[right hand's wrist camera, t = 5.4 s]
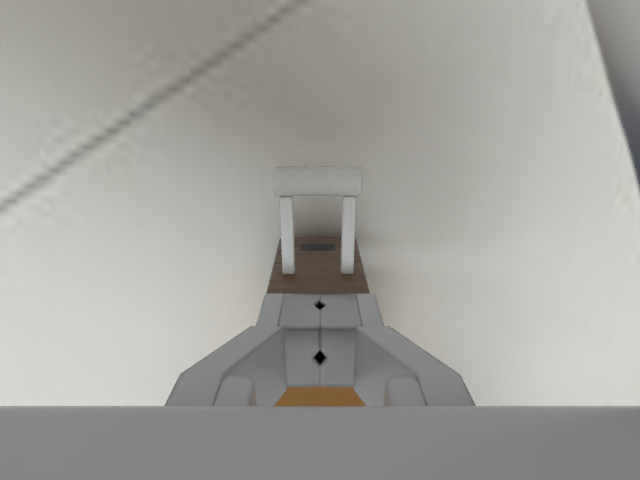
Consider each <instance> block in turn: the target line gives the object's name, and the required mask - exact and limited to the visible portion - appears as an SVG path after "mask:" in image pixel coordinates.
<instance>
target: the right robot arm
mask: <svg viewBox="0 0 640 480" xmlns="http://www.w3.org/2000/svg"><path fill="white" fill-rule="evenodd" d="M294 387H346V388H353V389H354V391H355V392H356V393H357V394H358V396H359V397H360V398H361V399H362V401H363V402H364V403H365V404H366V406H274V405H275V403H276V402H277V401H278V400H279V398H280V397H281V396H282V395H283V394H284V392H285V391H286V390H287V388H294ZM0 480H640V406H476V405H475V403H474V401H473V399H472V397H471V395H470V393H469V391H468V389H467V387H466V385H465V383H464V381H463V379H462V377H461V375H460V374H458V373H457V372H455V371H454V370H453V369H451V368H450V367H448V366H447V365H445V364H444V363H442V362H441V361H439V360H438V359H436V358H435V357H433V356H432V355H431V354H429V353H428V352H426V351H425V350H423V349H422V348H420V347H419V346H417V345H416V344H414V343H413V342H411V341H410V340H408V339H407V338H406V337H404V336H403V335H401V334H400V333H398V332H397V331H395V330H394V329H392V328H391V327H389V326H384V324H383V321H382V317H381V314H380V310H379V307H378V303H377V299H376V296H375V294H374V293H367V294H323V295H320V294H283V293H274V294H266V295H265V296H264V299H263V303H262V306H261V310H260V313H259V317H258V321H257V324H256V326H251V327H249V328H248V329H246V330H245V331H243V332H242V333H240V334H239V335H237V336H236V337H234V338H233V339H231V340H230V341H229V342H227V343H226V344H224V345H223V346H221V347H220V348H218V349H217V350H215V351H214V352H212V353H211V354H209V355H208V356H206V357H205V358H203V359H202V360H200V361H199V362H198V363H196V364H195V365H193V366H192V367H190V368H189V369H187V370H186V371H184V372H183V373H181V374H180V376H179V378H178V380H177V382H176V384H175V386H174V388H173V390H172V392H171V394H170V396H169V398H168V400H167V402H166V404H165V405H164V406H0Z"/></svg>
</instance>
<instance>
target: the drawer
mask: <svg viewBox="0 0 640 480" xmlns="http://www.w3.org/2000/svg"><path fill="white" fill-rule="evenodd" d="M273 187H274V194H275V195H276V196H280V198H279V202H280V225H281V238H280V241H279V245H278V249H277V253H276V257H275V261H274V265H273V269H272V273H271V277H270V281H269V285H268V289H267V293H266V294H274V293H283V294H320V295H323V294H367V293H370V292H369V288H368V284H367V280H366V277H365V273H364V269H363V265H362V261H361V258H360V254H359V250H358V246H357V242H356V239H355V217H356V196H359V195H361V192H362V169H361V167H274V172H273ZM293 196H342V235H341V238H294V208H293Z"/></svg>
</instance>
